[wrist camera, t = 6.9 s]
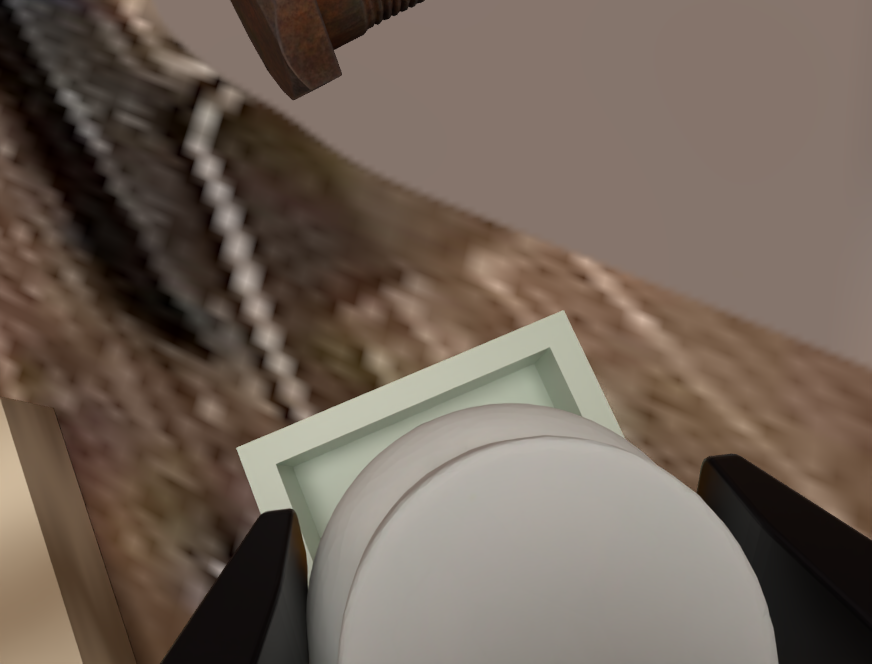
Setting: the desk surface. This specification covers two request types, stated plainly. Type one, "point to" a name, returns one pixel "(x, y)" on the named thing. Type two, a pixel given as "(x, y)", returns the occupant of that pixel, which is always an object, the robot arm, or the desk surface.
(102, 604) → the socket block
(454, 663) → the supplement bottle
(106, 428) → the desk surface
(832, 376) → the desk surface
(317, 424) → the tray
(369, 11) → the brown long lumpy piece
